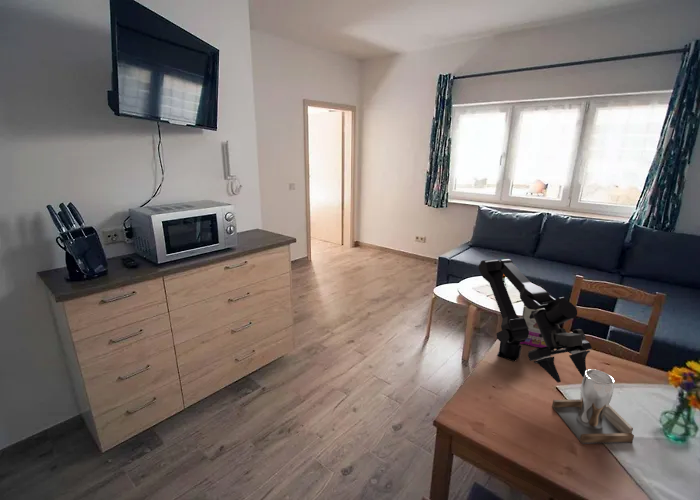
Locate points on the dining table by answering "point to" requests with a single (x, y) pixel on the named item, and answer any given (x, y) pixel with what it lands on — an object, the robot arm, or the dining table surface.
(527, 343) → the candy bar box
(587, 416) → the silver metal cup
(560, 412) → the wooden tray
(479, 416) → the dining table surface
